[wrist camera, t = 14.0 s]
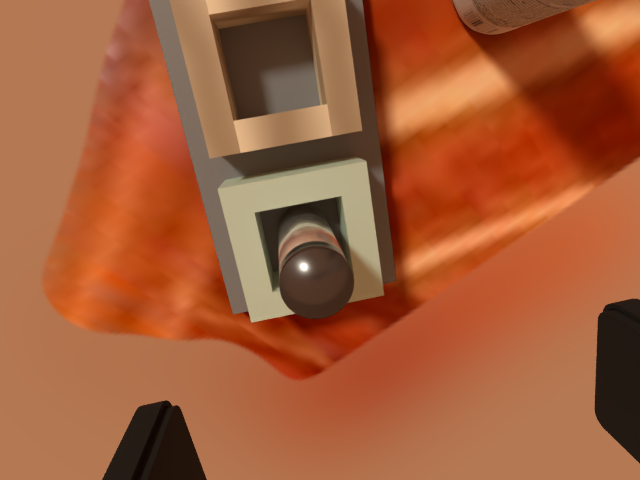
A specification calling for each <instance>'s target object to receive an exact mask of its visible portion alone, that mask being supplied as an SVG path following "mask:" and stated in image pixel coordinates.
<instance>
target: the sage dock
mask: <svg viewBox="0 0 640 480" xmlns="http://www.w3.org/2000/svg"><path fill="white" fill-rule="evenodd" d="M218 193H219V197H220V201H221V205H222V209H223V213H224V217H225V221H226V225H227V229H228V233H229V236H230V240H231V244H232V248H233V252H234V256H235V260H236V264H237V268H238V272H239V276H240V280H241V284H242V288H243V292H244V296H245V299H246V303H247V307H248V311H249V315H250V319H251V323H252V322H256V321H261V320H266V319H271V318H276V317H281V316H286V315H291V314H295V313H294V312H292V311H291V310H290V309H289V308H288V307H287V306H286V304H285V303H284V301H283V299H282V297H281V294H280V288H279V271H276V272H273V269H272V265H271V260H270V256H269V251H268V247H267V243H266V238H265V234H264V229H263V225H262V220H261V216H260V212H261V211H266V210H271V209H276V208H281V207H287V206H292V205H297V204H302V203H308V202H313V201H318V200H323V199H329V198H334V197H335V198H336V204H337V210H338V216H339V223H340V229H341V235H342V241H343V247H344V254H345V258H346V260H347V262H348V264H349V266H350V268H351V270H352V273H353V276H354V289H353V293H352V296H351V298H350V300H349V301H348V303H349V302H354V301H359V300H364V299H369V298H374V297H379V296H384V290H383V282H382V275H381V267H380V260H379V252H378V245H377V237H376V230H375V222H374V215H373V207H372V200H371V192H370V185H369V177H368V170H367V162H366V161H365V160H363V159H361V158H359V157H357V156H351V157H345V158H340V159H335V160H329V161H324V162H319V163H313V164H308V165H303V166H297V167H292V168H287V169H281V170H276V171H270V172H265V173H260V174H254V175H249V176H244V177H238V178H233V179H228V180H225V181H224V182H223V183H222V184H221V186H220V187H219V188H218Z"/></svg>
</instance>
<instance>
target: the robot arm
mask: <svg viewBox="0 0 640 480" xmlns="http://www.w3.org/2000/svg"><path fill="white" fill-rule="evenodd" d="M597 333H598V334H597V359H596V361H597V362H596V387H595V414H596V417H597V419H598V421H599V423H600V424H601V426H602V427H603V428H604V429H605V430H606V431H607V432H608V433H609V434H610V435H611V436H612V437H613V438H614V439H615V440H616V441H617V442H618V443H620V444H621V446H623V447H624V448H625V449H626V450H627V451H628V452H629V453H630V454H631V455H632V456H633V457H634V458H635V459H636V460H637V461H638V462H639V463H640V300H639V299H629V300H625V301H620V302H615V303H611V304H608V305H606V306H605V308H604V309H603V312H602V313H600V315H599V317H598V332H597ZM102 480H207V479H206V477H205V474H204V471H203V468H202V466H201V463H200V461H199V458H198V455H197V452H196V449H195V447H194V444H193V441H192V438H191V436H190V433H189V430H188V428H187V425H186V422H185V420H184V417H183V414H182V411H181V409H180V407H179V406H177V405H176V406H172V405H171V403H170V402H169V401H161V402H157V403H152V404H147V405H143V406H140V407H138V409H137V410H136V412H135V414H134V416H133V418H132V420H131V422H130V424H129V426H128V428H127V430H126V432H125V434H124V436H123V438H122V440H121V442H120V444H119V446H118V448H117V451H116V453H115V455H114V457H113V459H112V461H111V463H110V465H109V467H108V469H107V471H106V473H105V475H104V477H103V479H102Z"/></svg>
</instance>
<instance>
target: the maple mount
mask: <svg viewBox="0 0 640 480" xmlns="http://www.w3.org/2000/svg"><path fill="white" fill-rule="evenodd" d="M170 4H171V8H172V12H173V16H174V20H175V24H176V28H177V32H178V36H179V39H180V43H181V47H182V51H183V55H184V59H185V63H186V67H187V71H188V75H189V79H190V83H191V87H192V91H193V95H194V99H195V103H196V106H197V110H198V114H199V118H200V122H201V126H202V130H203V134H204V138H205V142H206V146H207V150H208V154H209V158H210V159H211V158H216V157H222V156H227V155H233V154H238V153H243V152H249V151H254V150H260V149H265V148H271V147H276V146H281V145H287V144H292V143H298V142H303V141H309V140H314V139H320V138H325V137H330V136H336V135H341V134H347V133H352V132H358V131H362V125H361V117H360V110H359V102H358V95H357V87H356V80H355V72H354V65H353V57H352V50H351V42H350V35H349V27H348V20H347V12H346V5H345V0H170ZM304 14H306V19H307V25H308V31H309V37H310V43H311V50H312V56H313V62H314V68H315V74H316V80H317V87H318V93H319V99H320V105H319V106H314V107H308V108H303V109H297V110H291V111H286V112H280V113H275V114H269V115H264V116H258V117H253V118H247V119H241V120H239V118H238V113H237V109H236V105H235V100H234V96H233V91H232V87H231V82H230V78H229V73H228V69H227V64H226V60H225V56H224V51H223V47H222V42H221V38H220V33H219V29H221V28H227V27H233V26H239V25H245V24H251V23H257V22H263V21H269V20H275V19H281V18H287V17H293V16H299V15H304Z"/></svg>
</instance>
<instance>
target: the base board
mask: <svg viewBox="0 0 640 480" xmlns="http://www.w3.org/2000/svg"><path fill="white" fill-rule="evenodd" d="M149 2H150V6H151V10H152V13H153V17H154V21H155V25H156V28H157V32H158V36H159V40H160V43H161V47H162V51H163V55H164V58H165V62H166V66H167V69H168V73H169V77H170V81H171V84H172V88H173V92H174V96H175V99H176V103H177V107H178V110H179V114H180V118H181V122H182V125H183V129H184V133H185V137H186V140H187V144H188V148H189V152H190V155H191V159H192V163H193V166H194V170H195V174H196V178H197V181H198V185H199V189H200V193H201V196H202V200H203V204H204V207H205V211H206V215H207V219H208V222H209V226H210V230H211V234H212V237H213V241H214V245H215V249H216V252H217V256H218V260H219V263H220V267H221V271H222V275H223V278H224V282H225V286H226V290H227V293H228V297H229V301H230V305H231V308H232V312H233V314H237V313H242V312H247V311H248V307H247V303H246V299H245V296H244V292H243V288H242V284H241V280H240V276H239V272H238V268H237V264H236V260H235V256H234V252H233V248H232V244H231V240H230V236H229V233H228V229H227V225H226V221H225V217H224V213H223V209H222V205H221V201H220V197H219V193H218V188H219V187H220V186H221V184H222V183H223V182H224V181H225V180H228V179H233V178H238V177H244V176H249V175H254V174H260V173H265V172H270V171H276V170H281V169H287V168H292V167H297V166H303V165H308V164H313V163H319V162H324V161H329V160H335V159H340V158H345V157H351V156H357V157H359V158H361V159H363V160H365V161H366V162H367V170H368V177H369V185H370V192H371V200H372V207H373V215H374V222H375V230H376V237H377V245H378V252H379V260H380V267H381V275H382V282H383V284H385V283H390V282H395V281H396V273H395V265H394V256H393V248H392V240H391V232H390V223H389V215H388V207H387V199H386V190H385V182H384V174H383V166H382V158H381V149H380V141H379V133H378V125H377V116H376V108H375V100H374V92H373V83H372V75H371V67H370V59H369V50H368V42H367V34H366V26H365V17H364V9H363V1H362V0H345V5H346V12H347V20H348V27H349V35H350V42H351V50H352V57H353V65H354V72H355V80H356V87H357V95H358V102H359V110H360V117H361V125H362V131H358V132H352V133H347V134H341V135H336V136H330V137H325V138H320V139H314V140H309V141H303V142H298V143H292V144H287V145H281V146H276V147H271V148H265V149H260V150H254V151H249V152H243V153H238V154H233V155H227V156H222V157H216V158H211V159H210V158H209V154H208V150H207V146H206V142H205V138H204V134H203V130H202V126H201V122H200V118H199V114H198V110H197V106H196V103H195V99H194V95H193V91H192V87H191V83H190V79H189V75H188V71H187V67H186V63H185V59H184V55H183V51H182V47H181V43H180V39H179V36H178V32H177V28H176V24H175V20H174V16H173V12H172V8H171V4H170V0H149ZM219 33H220V38H221V42H222V47H223V51H224V56H225V60H226V64H227V69H228V73H229V78H230V82H231V87H232V91H233V96H234V100H235V105H236V109H237V113H238V118H239V120H241V119H247V118H253V117H258V116H264V115H269V114H275V113H280V112H286V111H291V110H297V109H303V108H308V107H314V106H319V105H320V99H319V93H318V87H317V80H316V74H315V68H314V62H313V56H312V50H311V43H310V37H309V31H308V25H307V19H306V14H304V15H299V16H293V17H287V18H281V19H275V20H269V21H263V22H257V23H251V24H245V25H239V26H233V27H227V28H221V29H219ZM299 205H308V206H312V207H315V208H316V209H318V210H319V211H321V212H322V213H323V215H324V216H325V218H326V220H327V222H328V224H329V226H330V228H331V230H332V232H333V234H334V236H335V238H336V240H337V242H338V244H339V246H340V248H341V250H342V252H343V254H344V247H343V241H342V235H341V229H340V223H339V216H338V210H337V204H336V198H335V197H334V198H329V199H323V200H318V201H313V202H308V203H302V204H297V205H292V206H287V207H281V208H276V209H271V210H266V211H261V212H260V216H261V220H262V225H263V229H264V234H265V238H266V243H267V247H268V251H269V256H270V260H271V265H272V269H273V272H276V271H279V245H278V226H279V222H280V219H281V218H282V216H283V215H284V213H286V212H287V211H288V210H289V209H291V208H293V207H295V206H299ZM344 256H345V254H344Z"/></svg>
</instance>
